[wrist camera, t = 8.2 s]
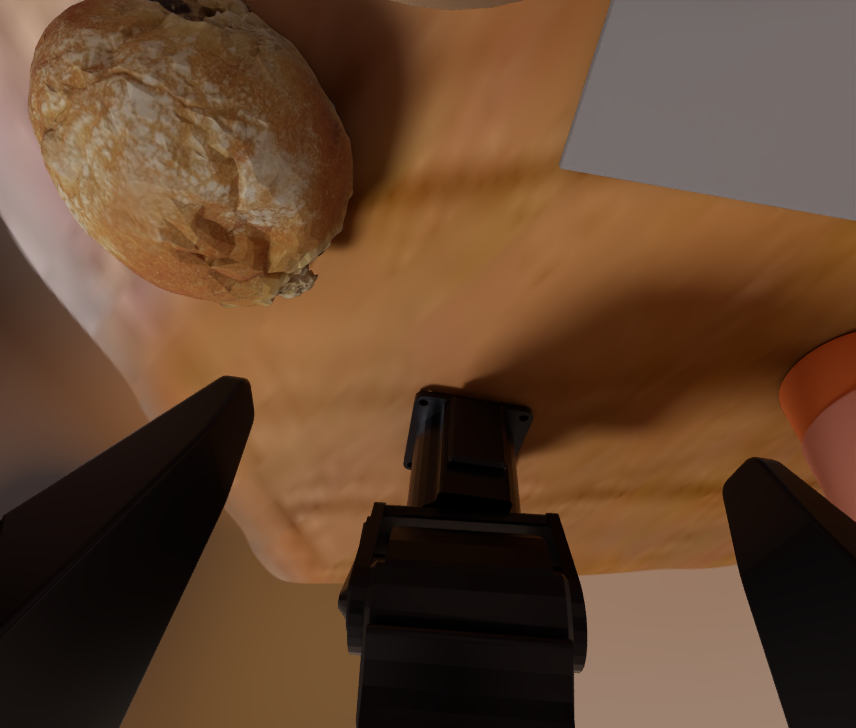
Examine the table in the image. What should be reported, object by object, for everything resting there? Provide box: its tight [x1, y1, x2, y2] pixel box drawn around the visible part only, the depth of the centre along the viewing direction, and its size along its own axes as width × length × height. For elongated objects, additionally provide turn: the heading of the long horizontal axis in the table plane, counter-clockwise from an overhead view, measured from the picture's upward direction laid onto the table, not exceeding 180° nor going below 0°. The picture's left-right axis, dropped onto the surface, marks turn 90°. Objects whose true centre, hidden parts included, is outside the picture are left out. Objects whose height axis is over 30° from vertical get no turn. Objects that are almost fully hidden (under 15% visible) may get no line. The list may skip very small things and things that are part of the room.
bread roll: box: [28, 0, 354, 308], centre depth 16 cm, size 10×10×8 cm
